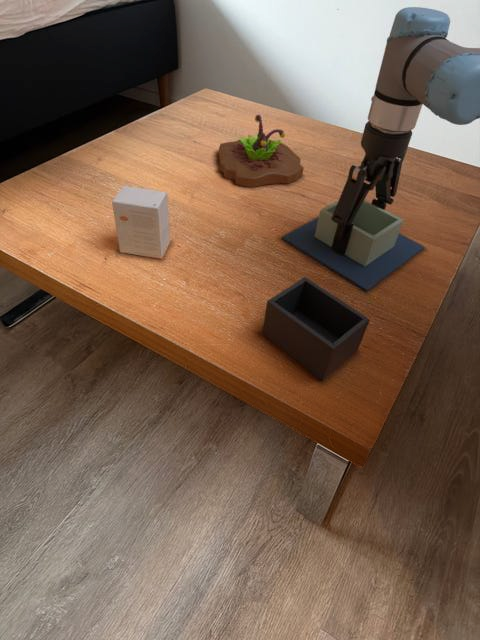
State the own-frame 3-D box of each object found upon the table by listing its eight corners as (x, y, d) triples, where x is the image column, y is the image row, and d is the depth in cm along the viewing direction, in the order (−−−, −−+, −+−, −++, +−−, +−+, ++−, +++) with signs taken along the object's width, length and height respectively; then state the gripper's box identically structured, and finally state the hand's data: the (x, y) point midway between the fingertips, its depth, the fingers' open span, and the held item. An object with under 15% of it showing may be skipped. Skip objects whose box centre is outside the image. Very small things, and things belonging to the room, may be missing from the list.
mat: (423, 248, 89) (424, 246, 89) (366, 292, 78) (367, 289, 78) (342, 205, 98) (343, 203, 98) (281, 239, 88) (282, 236, 87)
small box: (170, 242, 84) (168, 191, 77) (162, 260, 80) (158, 208, 73) (129, 235, 85) (123, 184, 77) (118, 252, 81) (111, 200, 73)
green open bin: (394, 246, 88) (404, 219, 83) (364, 266, 82) (374, 239, 78) (344, 219, 93) (351, 193, 89) (314, 236, 88) (320, 209, 84)
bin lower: (357, 351, 68) (370, 319, 63) (322, 381, 64) (333, 349, 59) (297, 309, 74) (305, 276, 69) (261, 334, 69) (267, 300, 64)
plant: (282, 145, 117) (288, 100, 109) (311, 182, 104) (321, 134, 97) (207, 150, 112) (208, 103, 104) (228, 189, 99) (231, 139, 91)
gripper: (406, 103, 80) (371, 213, 95) (328, 134, 68) (302, 253, 83) (444, 117, 76) (401, 228, 92) (369, 152, 64) (334, 273, 80)
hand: (354, 240), depth 88 cm, fingers closed on green open bin, 10 cm apart
